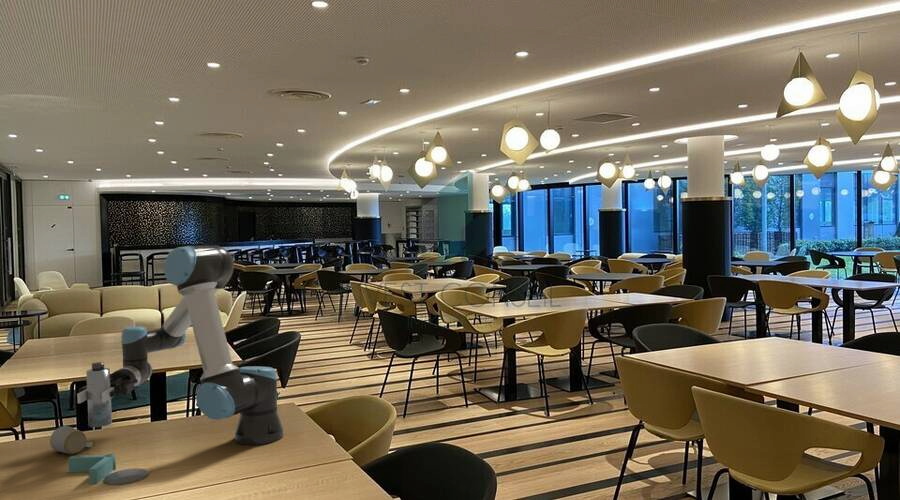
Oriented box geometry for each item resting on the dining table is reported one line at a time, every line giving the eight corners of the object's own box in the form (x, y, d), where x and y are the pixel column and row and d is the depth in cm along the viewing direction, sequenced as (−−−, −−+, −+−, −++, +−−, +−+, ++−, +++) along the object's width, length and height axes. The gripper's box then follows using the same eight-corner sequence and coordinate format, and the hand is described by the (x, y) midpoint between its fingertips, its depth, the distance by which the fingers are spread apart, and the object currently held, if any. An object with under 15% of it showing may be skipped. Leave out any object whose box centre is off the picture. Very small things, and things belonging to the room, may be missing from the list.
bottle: (115, 420, 195) (112, 360, 194) (106, 426, 189) (104, 364, 188) (94, 421, 194) (91, 361, 194) (84, 427, 188) (82, 365, 188)
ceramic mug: (65, 458, 197) (64, 432, 196) (49, 454, 201) (49, 429, 200) (98, 448, 206) (98, 424, 206) (83, 444, 210) (83, 420, 210)
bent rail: (117, 467, 188) (116, 453, 188) (98, 483, 175) (97, 468, 175) (72, 469, 187) (71, 455, 186) (50, 486, 174) (49, 471, 174)
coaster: (154, 468, 186) (154, 467, 186) (139, 483, 175) (139, 482, 175) (114, 470, 185) (113, 469, 185) (96, 485, 174) (96, 484, 174)
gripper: (155, 390, 210) (126, 409, 187) (93, 393, 208) (56, 412, 185) (154, 367, 210) (125, 383, 187) (92, 369, 208) (55, 386, 185)
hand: (91, 397), depth 186 cm, fingers closed on bottle, 6 cm apart
